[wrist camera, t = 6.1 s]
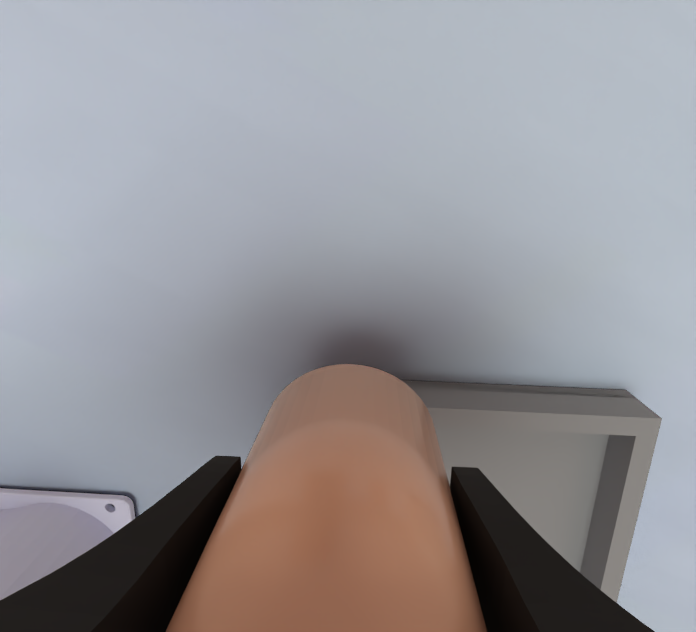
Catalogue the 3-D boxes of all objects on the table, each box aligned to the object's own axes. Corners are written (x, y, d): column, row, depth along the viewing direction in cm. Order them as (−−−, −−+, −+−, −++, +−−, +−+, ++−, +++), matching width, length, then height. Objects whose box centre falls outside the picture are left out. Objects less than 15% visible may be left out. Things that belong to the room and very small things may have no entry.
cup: (266, 512, 14) (124, 941, 6) (259, 360, 12) (64, 658, 4) (430, 521, 13) (509, 978, 6) (443, 367, 12) (570, 694, 4)
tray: (315, 664, 25) (309, 715, 23) (316, 376, 20) (309, 401, 18) (562, 683, 24) (583, 737, 22) (626, 390, 19) (661, 418, 17)
